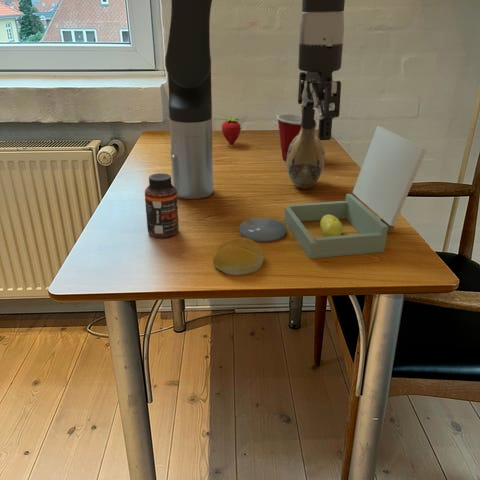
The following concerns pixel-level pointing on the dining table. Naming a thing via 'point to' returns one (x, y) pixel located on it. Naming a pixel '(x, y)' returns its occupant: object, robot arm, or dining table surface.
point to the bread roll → (239, 256)
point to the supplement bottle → (161, 206)
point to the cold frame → (365, 242)
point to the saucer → (262, 229)
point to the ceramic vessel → (305, 158)
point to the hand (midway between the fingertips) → (315, 134)
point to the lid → (388, 173)
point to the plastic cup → (288, 130)
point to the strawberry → (231, 130)
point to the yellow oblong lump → (331, 226)
